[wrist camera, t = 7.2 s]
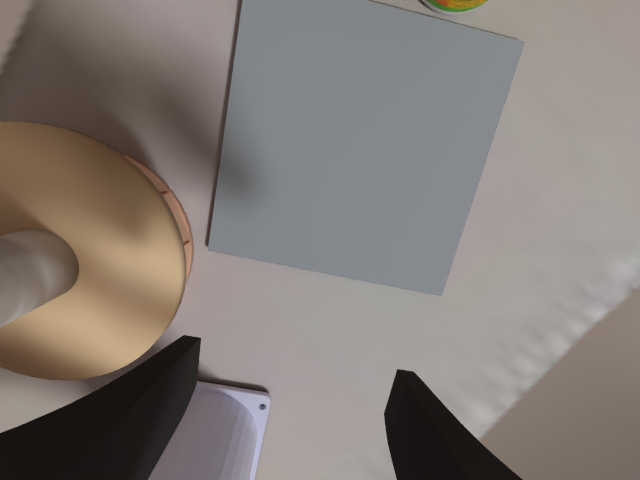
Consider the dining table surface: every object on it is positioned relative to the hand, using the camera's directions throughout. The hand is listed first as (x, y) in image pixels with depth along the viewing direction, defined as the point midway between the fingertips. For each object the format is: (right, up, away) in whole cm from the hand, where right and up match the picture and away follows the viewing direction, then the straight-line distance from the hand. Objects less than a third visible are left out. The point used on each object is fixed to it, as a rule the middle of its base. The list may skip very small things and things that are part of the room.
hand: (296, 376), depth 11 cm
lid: (-13, +4, +6) cm, 15 cm away
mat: (+3, +10, +8) cm, 14 cm away
